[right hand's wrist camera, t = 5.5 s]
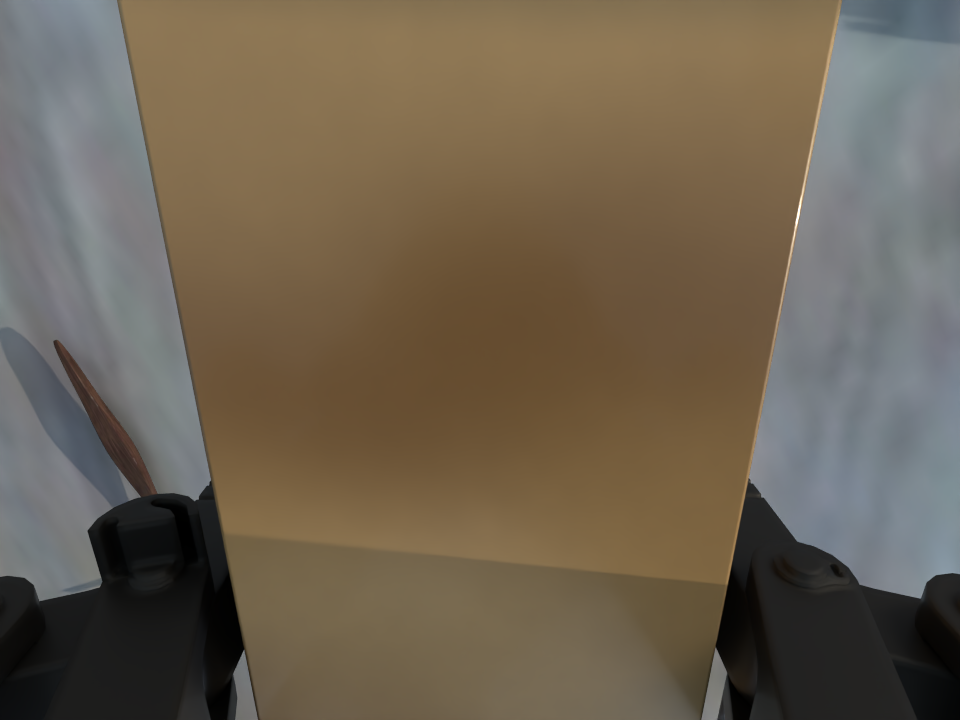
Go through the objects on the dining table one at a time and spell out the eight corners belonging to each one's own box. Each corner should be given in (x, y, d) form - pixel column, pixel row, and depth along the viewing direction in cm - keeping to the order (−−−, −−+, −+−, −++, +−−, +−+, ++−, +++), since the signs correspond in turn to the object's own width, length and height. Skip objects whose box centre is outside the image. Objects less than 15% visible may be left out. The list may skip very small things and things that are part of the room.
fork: (89, 328, 26) (59, 343, 24) (245, 599, 32) (230, 629, 30) (37, 344, 26) (3, 361, 24) (201, 610, 32) (184, 640, 30)
